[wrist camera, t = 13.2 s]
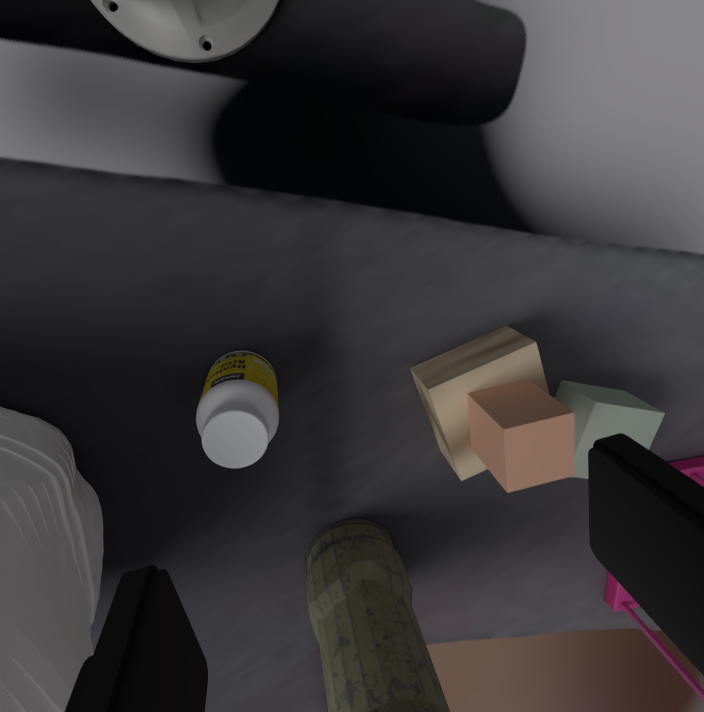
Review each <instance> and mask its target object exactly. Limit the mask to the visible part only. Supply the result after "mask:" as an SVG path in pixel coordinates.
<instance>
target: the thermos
mask: <svg viewBox="0 0 704 712" xmlns="http://www.w3.org/2000/svg"><path fill="white" fill-rule="evenodd" d="M305 568H306V574H307V576H306V592H307V600H308V609H309V617H310V620H311V624H312V627H313V630H314V634H315V637H316V639H317V641H318V643H319V644H320V651H321V659H322V666H323V674H324V682H325V689H326V697H327V705H328V712H450V710H449V708H448V705H447V702H446V699H445V696H444V694H443V691H442V688H441V685H440V683H439V680H438V677H437V674H436V672H435V669H434V666H433V663H432V661H431V658H430V655H429V652H428V650H427V647H426V644H425V641H424V639H423V636H422V633H421V630H420V627H419V625H418V622H417V619H416V616H415V614H414V611H413V608H412V586H411V584H410V581H409V578H408V576H407V573H406V570H405V568H404V565H403V563H402V560H401V557H400V555H399V553H398V552H397V551H396V550H395V547H394V544H393V541H392V538H391V536H390V534H389V533H388V532H387V531H386V530H385V529H384V528H383V527H382V526H380V525H379V524H377V523H375V522H373V521H370V520H364V519H348V520H342V521H340V522H337V523H334V524H332V525H329V526H328V527H327V528H325V529H324V530H322V531H321V532H320V533H318V534H317V536H316V537H315V538H314V539H313V541H312V542H311V543H310V544H309V547H308V550H307V553H306V555H305Z"/></svg>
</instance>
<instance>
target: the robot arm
mask: <svg viewBox="0 0 704 712" xmlns="http://www.w3.org/2000/svg"><path fill="white" fill-rule="evenodd" d="M91 1H92V3H93V4H94V5H95V6H96V8H97V9H98V10H99V11H100V12H101V14H102V15H103V16H104V17H105V18H106V19H107V20H108V21H109V22H110V23H111V24H112V25H113V26H114V27H115V28H116V29H117V30H118V31H119V32H120V33H122V34H123V35H124V36H126V37H127V38H128V39H130V40H131V41H132V42H134V43H135V44H136V45H138V46H140V47H142V48H144V49H146V50H148V51H150V52H152V53H154V54H156V55H158V56H161V57H165V58H168V59H171V60H175V61H180V62H192V63H201V62H209V61H216V60H219V59H222V58H225V57H228V56H230V55H233V54H235V53H236V52H238V51H240V50H241V49H243V48H244V47H246V46H247V45H249V44H250V43H251V42H252V41H253V40H254V39H255V38H256V37H257V36H258V35H259V34H260V33H261V32H262V31H263V30H264V28H265V27H266V25H267V24H268V22H269V21H270V19H271V18H272V16H273V15H274V13H275V10H276V8H277V5H278V3H279V0H91ZM113 4H117V5H118V9H117V11H115V12H112V11H111V5H113ZM205 43H210V44H211V49H210V50H209V51H207V50H205V49H204V48H203V46H204V44H205ZM588 482H589V534H590V546H591V549H592V551H593V553H594V555H595V556H596V558H597V559H598V560H599V561H600V563H601V564H602V565H603V566H604V567H605V568H606V569H607V570H608V571H609V572H610V574H611V575H612V576H613V577H614V578H615V579H616V580H617V581H618V582H619V583H620V584H621V586H622V587H623V588H624V589H625V590H626V591H627V592H628V593H629V594H630V595H631V597H632V598H633V599H634V600H635V601H636V602H637V603H638V604H639V605H640V606H641V608H642V609H643V610H644V611H645V612H646V613H647V614H648V615H649V616H650V617H651V619H652V620H653V621H654V622H655V623H656V624H657V625H658V626H659V627H660V628H661V630H662V631H663V632H664V633H665V634H666V635H667V636H668V637H669V638H670V639H671V641H672V642H673V643H674V644H675V645H676V646H677V647H678V648H679V649H680V650H681V652H682V653H683V654H684V655H685V656H686V657H687V658H688V659H689V660H690V661H691V662H692V664H693V665H694V666H695V667H696V668H697V669H698V670H699V671H700V672H701V673H702V675H703V676H704V487H703V486H702V485H700V484H699V483H697V482H696V481H694V480H693V479H691V478H690V477H688V476H687V475H685V474H684V473H682V472H681V471H679V470H678V469H676V468H675V467H673V466H672V465H670V464H669V463H667V462H666V461H664V460H663V459H661V458H660V457H659V456H657V455H656V454H654V453H653V452H651V451H650V450H648V449H647V448H645V447H644V446H642V445H641V444H639V443H638V442H636V441H635V440H633V439H632V438H630V437H629V436H627V435H625V434H623V433H618V434H615V435H611V436H608V437H604V438H601V439H597V440H596V441H595V442H594V444H593V448H591V449H589V451H588ZM207 684H208V668H207V662H206V659H205V657H204V654H203V652H202V650H201V647H200V645H199V643H198V640H197V638H196V636H195V633H194V631H193V629H192V626H191V624H190V622H189V620H188V617H187V615H186V613H185V610H184V608H183V606H182V603H181V601H180V599H179V596H178V594H177V592H176V589H175V587H174V585H173V583H172V580H171V578H170V576H169V573H168V572H167V570H165V569H163V570H160V571H159V570H158V568H157V567H156V566H155V565H150V566H146V567H143V568H139V569H136V570H132V571H129V572H125V573H124V574H123V575H122V577H121V579H120V582H119V585H118V588H117V590H116V593H115V596H114V599H113V601H112V604H111V607H110V610H109V613H108V615H107V618H106V621H105V624H104V627H103V629H102V632H101V635H100V638H99V640H98V643H97V646H96V649H95V652H94V654H93V655H92V656H89V657H88V658H87V659H86V660H85V661H84V663H83V665H82V667H81V669H80V672H79V674H78V677H77V680H76V682H75V685H74V688H73V690H72V693H71V696H70V698H69V701H68V704H67V706H66V709H65V712H205V703H206V693H207Z"/></svg>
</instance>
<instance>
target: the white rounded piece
mask: <svg viewBox="0 0 704 712" xmlns="http://www.w3.org/2000/svg"><path fill="white" fill-rule="evenodd" d="M103 554H104V547H103V519H102V511H101V506H100V503H99V499H98V496H97V494H96V492H95V491H94V489H93V488H92V486H91V485H90V484H89V483H88V482H87V481H86V480H85V479H84V478H83V477H82V476H81V474H80V473H79V471H78V469H77V468H76V464H75V459H74V454H73V450H72V446H71V444H70V442H69V441H68V439H67V438H66V436H65V435H64V434H63V433H62V432H61V431H60V430H59V429H58V428H56V427H54V426H53V425H51V424H49V423H47V422H45V421H44V420H42V419H40V418H37V417H33V416H30V415H26V414H22V413H19V412H17V411H15V410H9V409H6V408H3V407H0V712H65V709H66V706H67V704H68V701H69V698H70V696H71V693H72V690H73V688H74V685H75V682H76V680H77V677H78V674H79V672H80V669H81V667H82V665H83V663H84V661H85V660H86V659H87V658H88V657H89V656H92V655H93V647H92V642H91V638H90V635H91V630H90V625H91V624H92V623H93V621H94V617H95V611H96V607H97V603H98V599H99V594H100V582H101V573H102V564H103V562H102V559H103Z"/></svg>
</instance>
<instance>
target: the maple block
mask: <svg viewBox="0 0 704 712" xmlns="http://www.w3.org/2000/svg"><path fill="white" fill-rule="evenodd" d="M410 370H411V372H412V375H413V378H414V380H415V383H416V386H417V388H418V391H419V394H420V396H421V399H422V402H423V404H424V407H425V410H426V412H427V415H428V418H429V420H430V423H431V426H432V428H433V431H434V434H435V437H436V439H437V442H438V445H439V447H440V450H441V452H442V454H443V455H444V457H445V458H446V460H447V461H448V462H449V464H450V465H451V467H452V468H453V470H454V471H455V473H456V474H457V476H458V477H459V478H460V480H461V481H463V480H465V479H467V478H469V477H471V476H474V475H476V474H478V473H480V472H483V471H485V470H487V467H486V466H485V465H484V464H483V462H482V461H481V460H480V459H479V457H478V456H477V455H476V454H475V453H474V451H473V450H472V447H471V435H470V423H469V411H468V399H467V393H471V392H475V391H479V390H483V389H488V388H492V387H496V386H501V385H505V384H509V383H513V382H518V381H522V380H526V379H528V380H530V381H531V382H532V383H534V384H535V385H537V386H538V387H539V388H541V389H542V390H544V391H545V392H546V393H548V394H549V390H548V387H547V383H546V379H545V375H544V371H543V367H542V363H541V359H540V355H539V351H538V347H537V343H536V342H535V341H534V340H532V339H530V338H528V337H526V336H525V335H523V334H521V333H519V332H517V331H516V330H514V329H512V328H510V327H508V326H504V327H502V328H500V329H498V330H495V331H493V332H491V333H489V334H486V335H484V336H482V337H479V338H477V339H475V340H473V341H470V342H468V343H466V344H464V345H461V346H459V347H457V348H454V349H452V350H450V351H448V352H445V353H443V354H441V355H439V356H436V357H434V358H432V359H429V360H427V361H425V362H423V363H420V364H418V365H416V366H414V367H411V368H410ZM549 395H550V394H549Z"/></svg>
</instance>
